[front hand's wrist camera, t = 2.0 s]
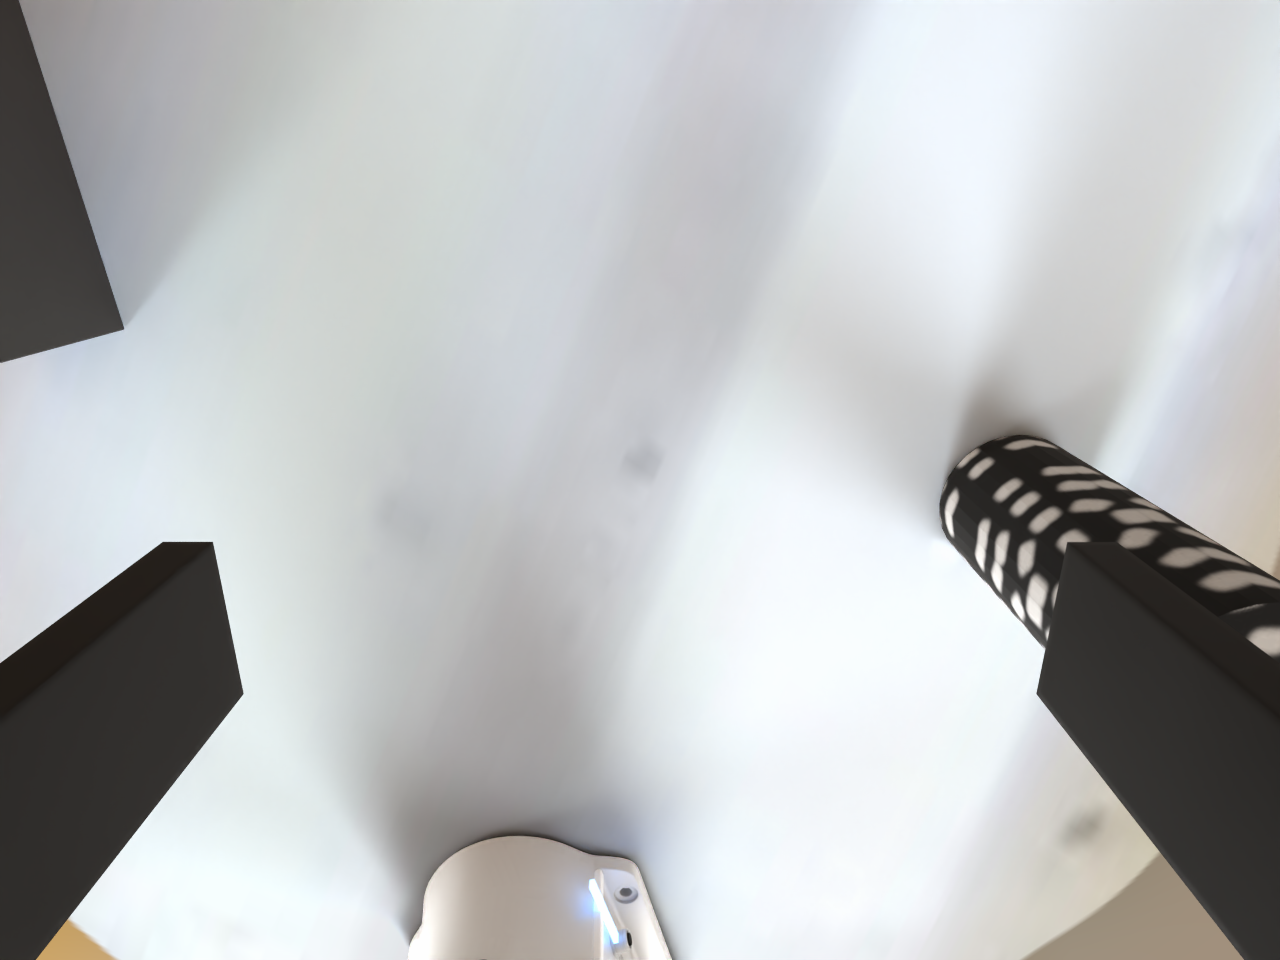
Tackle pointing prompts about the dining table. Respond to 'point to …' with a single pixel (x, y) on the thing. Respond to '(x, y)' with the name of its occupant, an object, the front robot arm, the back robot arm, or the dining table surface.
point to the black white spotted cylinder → (1086, 537)
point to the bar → (42, 216)
